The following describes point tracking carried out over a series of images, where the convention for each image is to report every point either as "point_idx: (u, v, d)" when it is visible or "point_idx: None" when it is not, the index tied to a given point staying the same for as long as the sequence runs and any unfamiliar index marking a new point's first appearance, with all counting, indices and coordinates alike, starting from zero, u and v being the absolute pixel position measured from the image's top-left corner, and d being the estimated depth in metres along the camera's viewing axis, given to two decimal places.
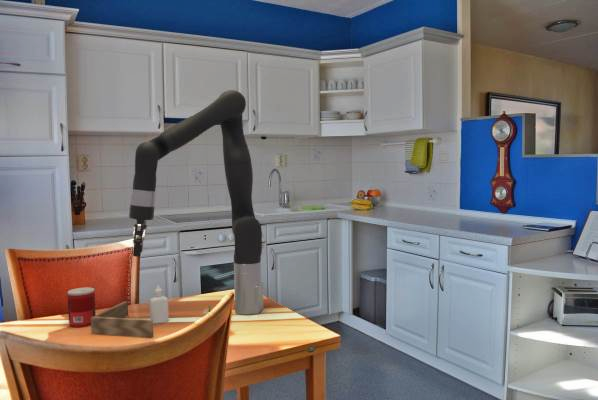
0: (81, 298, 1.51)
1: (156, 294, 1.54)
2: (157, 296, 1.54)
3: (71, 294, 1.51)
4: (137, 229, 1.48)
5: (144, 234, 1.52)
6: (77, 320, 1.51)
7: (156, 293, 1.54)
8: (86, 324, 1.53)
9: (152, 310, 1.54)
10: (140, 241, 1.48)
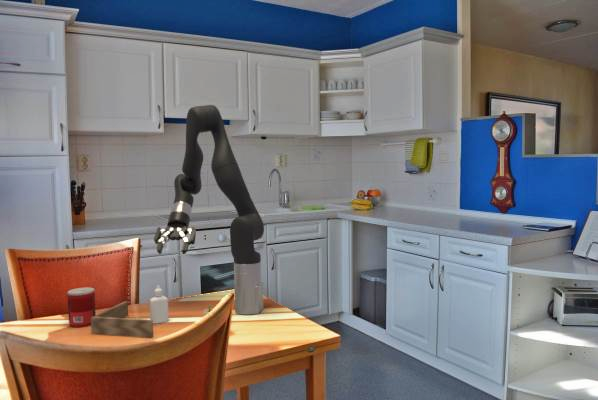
0: (81, 298, 1.51)
1: (156, 294, 1.54)
2: (157, 296, 1.54)
3: (71, 294, 1.51)
4: None
5: None
6: (77, 320, 1.51)
7: (156, 293, 1.54)
8: (86, 324, 1.53)
9: (152, 310, 1.54)
10: None
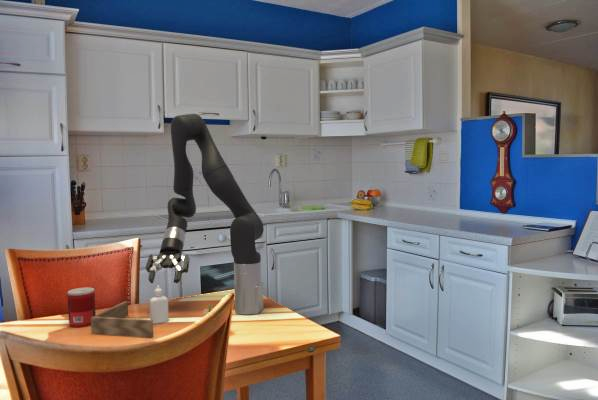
0: (81, 298, 1.51)
1: (156, 294, 1.54)
2: (157, 296, 1.54)
3: (71, 294, 1.51)
4: None
5: None
6: (77, 320, 1.51)
7: (156, 293, 1.54)
8: (86, 324, 1.53)
9: (152, 310, 1.54)
10: None
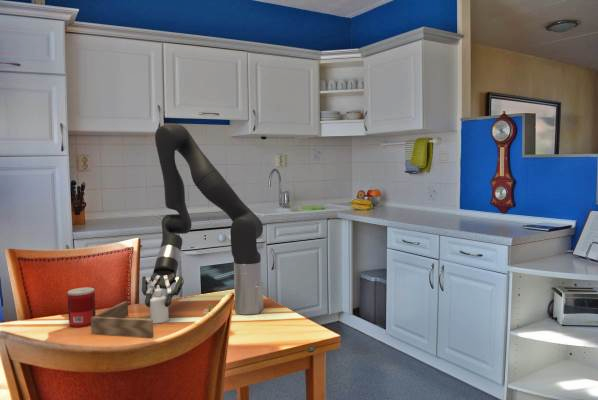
0: (81, 298, 1.51)
1: (156, 294, 1.54)
2: (157, 296, 1.54)
3: (71, 294, 1.51)
4: None
5: None
6: (77, 320, 1.51)
7: (156, 293, 1.54)
8: (86, 324, 1.53)
9: (152, 310, 1.54)
10: None
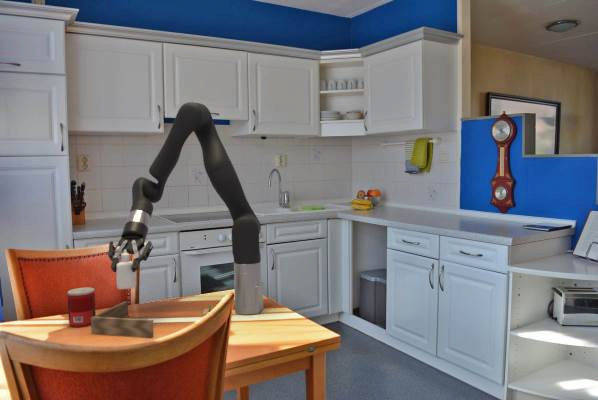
0: (81, 298, 1.51)
1: (123, 258, 1.48)
2: (124, 260, 1.48)
3: (71, 294, 1.51)
4: None
5: None
6: (77, 320, 1.51)
7: (123, 257, 1.48)
8: (86, 324, 1.53)
9: (118, 275, 1.47)
10: None
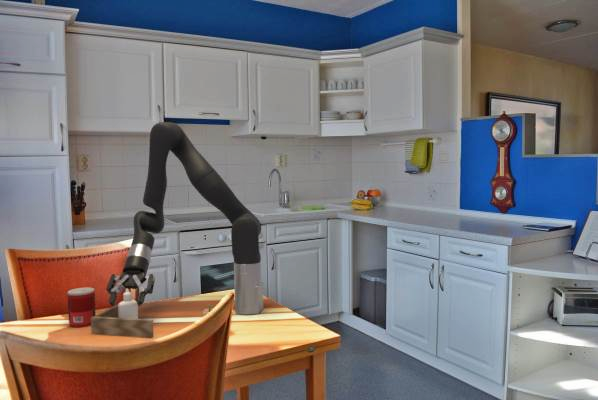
0: (81, 298, 1.51)
1: (125, 298, 1.49)
2: (126, 300, 1.49)
3: (71, 294, 1.51)
4: None
5: (118, 282, 1.52)
6: (77, 320, 1.51)
7: (125, 297, 1.49)
8: (86, 324, 1.53)
9: (120, 314, 1.48)
10: None
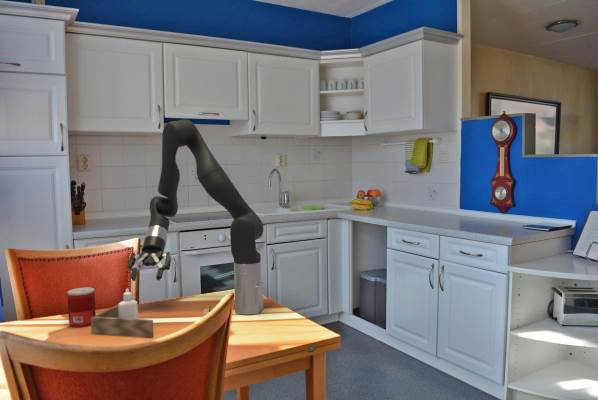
0: (81, 298, 1.51)
1: (125, 298, 1.49)
2: (126, 300, 1.49)
3: (71, 294, 1.51)
4: None
5: None
6: (77, 320, 1.51)
7: (125, 297, 1.49)
8: (86, 324, 1.53)
9: (120, 314, 1.48)
10: None
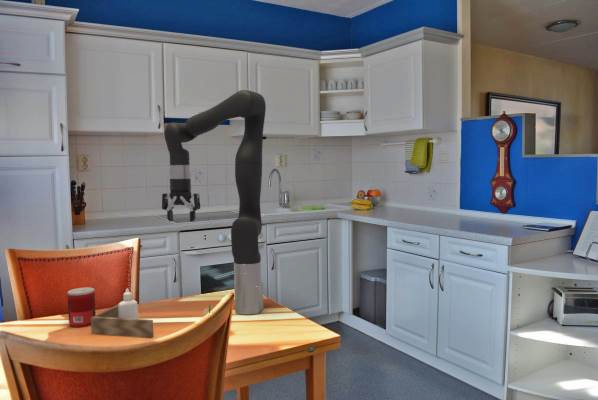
0: (81, 298, 1.51)
1: (125, 298, 1.49)
2: (126, 300, 1.49)
3: (71, 294, 1.51)
4: None
5: (170, 202, 1.77)
6: (77, 320, 1.51)
7: (125, 297, 1.49)
8: (86, 324, 1.53)
9: (120, 314, 1.48)
10: None
